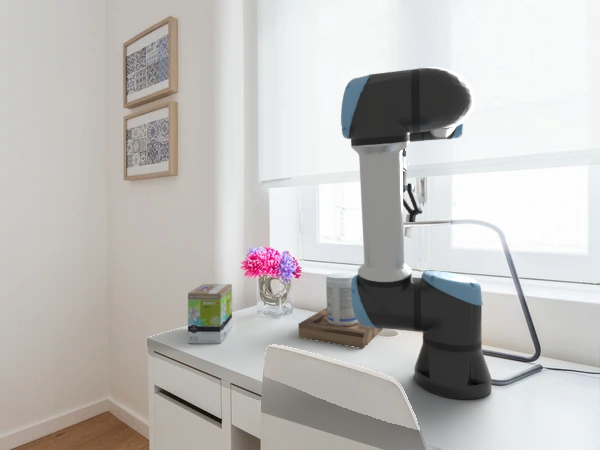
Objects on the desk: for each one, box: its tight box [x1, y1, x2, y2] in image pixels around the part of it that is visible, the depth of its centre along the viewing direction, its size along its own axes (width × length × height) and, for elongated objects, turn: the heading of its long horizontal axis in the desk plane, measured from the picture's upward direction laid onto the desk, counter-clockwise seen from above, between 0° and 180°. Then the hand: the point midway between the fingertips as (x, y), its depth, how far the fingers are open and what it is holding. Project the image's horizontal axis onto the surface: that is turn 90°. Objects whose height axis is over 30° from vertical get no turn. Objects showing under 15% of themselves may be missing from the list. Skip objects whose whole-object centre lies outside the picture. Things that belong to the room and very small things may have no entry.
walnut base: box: [298, 307, 384, 349], centre depth 110 cm, size 20×20×4 cm
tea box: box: [187, 283, 233, 345], centre depth 109 cm, size 15×10×15 cm, turn 179°
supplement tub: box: [325, 272, 358, 326], centre depth 110 cm, size 10×10×15 cm
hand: (388, 236), depth 112 cm, fingers open, 13 cm apart
